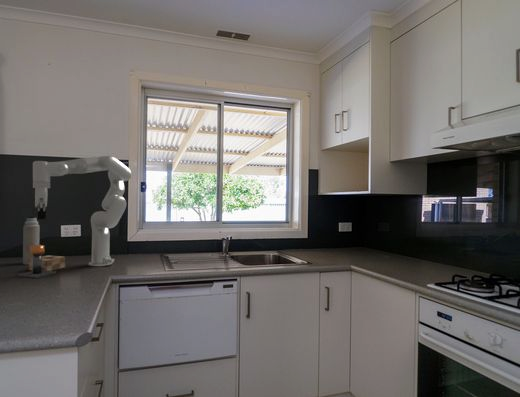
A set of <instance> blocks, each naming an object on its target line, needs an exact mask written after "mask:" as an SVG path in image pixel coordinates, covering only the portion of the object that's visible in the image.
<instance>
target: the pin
mask: <svg viewBox="0 0 520 397" xmlns="http://www.w3.org/2000/svg"><path fill="white" fill-rule="evenodd" d="M30 254H31V255H33V266H32V270H31V271H32V274H40V273H42V256H43V254H45V244H44V245H43V244H39V245H33V246H30Z"/></svg>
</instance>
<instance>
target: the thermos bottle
mask: <svg viewBox="0 0 520 397" xmlns="http://www.w3.org/2000/svg"><path fill="white" fill-rule="evenodd" d="M37 220H38V215H35V216H34V215H28V216H26V221H25V222H24V225H23V233H22V234H23V235H22V236H23V237H22V238H23V239H22V241H23V243H22V264H23V265H29V259H32V258H33V255H31V254H30V246H33V245H40V230H41V229H40V228H41V227H40V224H39V221H37Z"/></svg>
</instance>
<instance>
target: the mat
mask: <svg viewBox="0 0 520 397" xmlns="http://www.w3.org/2000/svg"><path fill="white" fill-rule="evenodd" d="M54 274H57V271H56V270H52V271H44V270H42V273H40V274H32V270H30V271H28V272H24V273H19V274H16V277H19V278H29V279H39V278H42V277H46V276H50V275H54Z"/></svg>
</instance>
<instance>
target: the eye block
mask: <svg viewBox="0 0 520 397" xmlns="http://www.w3.org/2000/svg"><path fill="white" fill-rule="evenodd" d="M32 266H33V258H32V259H29V264H28V271H32ZM64 268H66V256H63V255H62V256H60V255H42V270H44V271H56V270H59V269H64Z"/></svg>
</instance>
